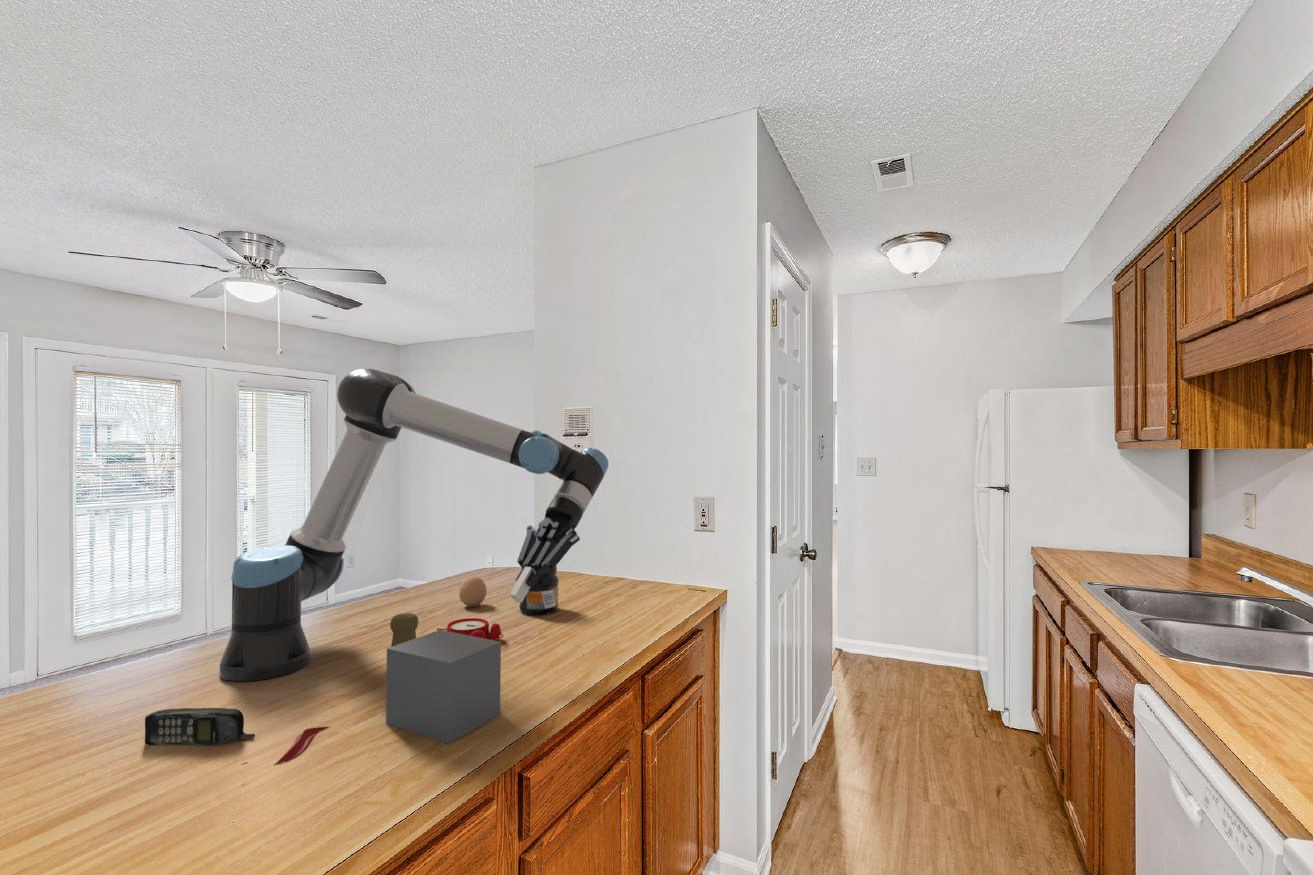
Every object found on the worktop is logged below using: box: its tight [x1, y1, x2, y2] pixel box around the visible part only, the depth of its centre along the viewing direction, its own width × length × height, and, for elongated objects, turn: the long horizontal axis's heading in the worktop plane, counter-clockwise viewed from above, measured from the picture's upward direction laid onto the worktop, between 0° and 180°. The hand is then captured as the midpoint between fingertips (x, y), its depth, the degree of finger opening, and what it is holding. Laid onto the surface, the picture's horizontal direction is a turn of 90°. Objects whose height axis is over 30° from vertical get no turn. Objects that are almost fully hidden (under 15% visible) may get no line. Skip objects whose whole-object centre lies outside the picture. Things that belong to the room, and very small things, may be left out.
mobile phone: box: [144, 707, 256, 747], centre depth 88 cm, size 5×3×15 cm
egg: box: [458, 575, 488, 608], centre depth 164 cm, size 7×7×8 cm
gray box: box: [385, 630, 502, 744], centre depth 96 cm, size 11×14×12 cm
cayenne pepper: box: [273, 726, 330, 766], centre depth 88 cm, size 12×5×2 cm, turn 164°
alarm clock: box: [436, 617, 504, 641], centre depth 134 cm, size 10×6×15 cm
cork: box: [389, 612, 419, 647], centre depth 117 cm, size 6×6×11 cm
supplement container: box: [518, 564, 560, 616], centre depth 160 cm, size 10×10×12 cm
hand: (515, 598), depth 114 cm, fingers closed
